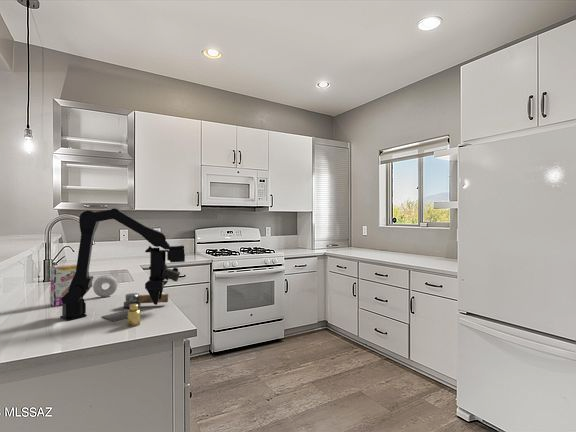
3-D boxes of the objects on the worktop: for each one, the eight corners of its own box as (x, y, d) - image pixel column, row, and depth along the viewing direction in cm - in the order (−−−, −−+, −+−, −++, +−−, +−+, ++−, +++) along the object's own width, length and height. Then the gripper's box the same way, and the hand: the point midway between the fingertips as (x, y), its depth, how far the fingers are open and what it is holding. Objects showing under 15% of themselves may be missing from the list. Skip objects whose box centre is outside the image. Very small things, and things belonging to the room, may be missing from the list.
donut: (93, 299, 147) (93, 276, 147) (92, 297, 150) (92, 275, 150) (118, 296, 153) (118, 274, 153) (117, 294, 156) (117, 273, 156)
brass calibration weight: (131, 327, 112) (131, 307, 111) (125, 325, 114) (125, 305, 114) (142, 324, 115) (142, 304, 115) (135, 322, 117) (135, 302, 117)
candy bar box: (54, 307, 134) (54, 267, 134) (49, 305, 137) (49, 266, 137) (84, 301, 143) (84, 264, 143) (79, 299, 146) (79, 262, 146)
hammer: (121, 308, 132) (121, 296, 132) (126, 303, 138) (126, 293, 138) (166, 306, 136) (166, 295, 136) (169, 301, 142) (169, 291, 142)
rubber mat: (113, 321, 117) (113, 320, 117) (101, 317, 122) (101, 316, 122) (136, 315, 124) (136, 314, 124) (123, 311, 129) (123, 310, 129)
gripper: (176, 266, 125) (176, 307, 125) (181, 259, 143) (180, 295, 143) (144, 266, 122) (144, 308, 122) (153, 260, 141) (153, 296, 141)
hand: (157, 301), depth 132 cm, fingers open, 8 cm apart
